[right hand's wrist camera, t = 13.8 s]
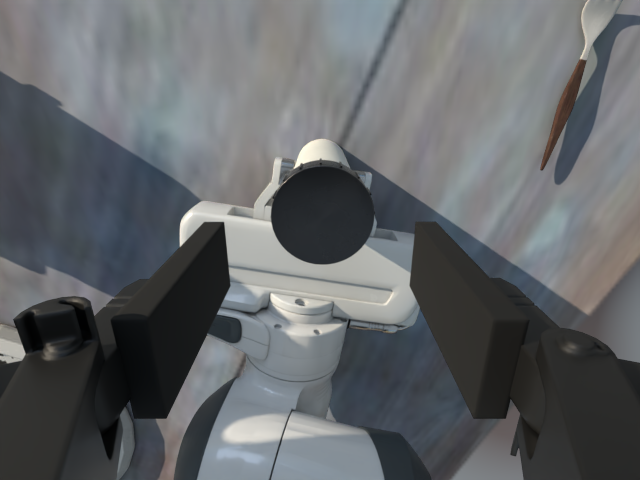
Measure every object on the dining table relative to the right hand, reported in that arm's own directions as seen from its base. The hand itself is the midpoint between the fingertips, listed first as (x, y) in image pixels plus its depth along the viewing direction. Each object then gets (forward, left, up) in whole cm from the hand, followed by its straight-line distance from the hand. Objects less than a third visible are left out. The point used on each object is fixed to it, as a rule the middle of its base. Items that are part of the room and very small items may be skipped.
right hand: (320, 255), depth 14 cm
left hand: (0, -1, -15) cm, 15 cm away
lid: (0, 0, -5) cm, 5 cm away
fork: (-22, -6, -21) cm, 31 cm away
